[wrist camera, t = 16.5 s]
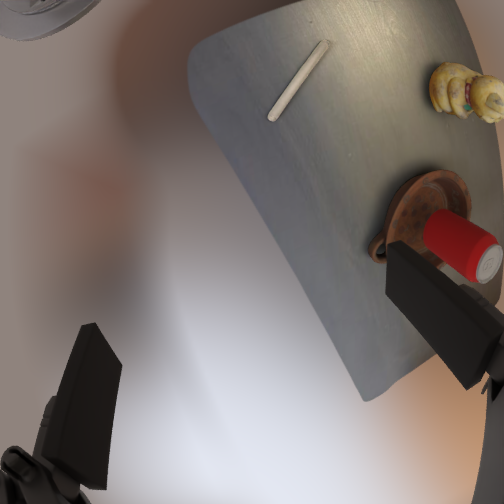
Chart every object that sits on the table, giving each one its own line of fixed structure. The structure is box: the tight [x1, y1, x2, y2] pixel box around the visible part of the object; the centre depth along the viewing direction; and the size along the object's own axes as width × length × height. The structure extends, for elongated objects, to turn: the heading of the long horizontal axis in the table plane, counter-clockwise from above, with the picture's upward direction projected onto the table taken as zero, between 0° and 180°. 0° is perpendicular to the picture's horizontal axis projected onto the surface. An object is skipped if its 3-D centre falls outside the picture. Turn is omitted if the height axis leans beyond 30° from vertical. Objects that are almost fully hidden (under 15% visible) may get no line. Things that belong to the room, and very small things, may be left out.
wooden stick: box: [268, 40, 329, 121], centre depth 32 cm, size 1×13×1 cm, turn 148°
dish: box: [368, 169, 471, 270], centre depth 42 cm, size 18×22×5 cm
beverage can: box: [423, 209, 503, 284], centre depth 34 cm, size 7×7×12 cm
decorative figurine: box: [429, 62, 504, 123], centre depth 28 cm, size 10×8×15 cm
